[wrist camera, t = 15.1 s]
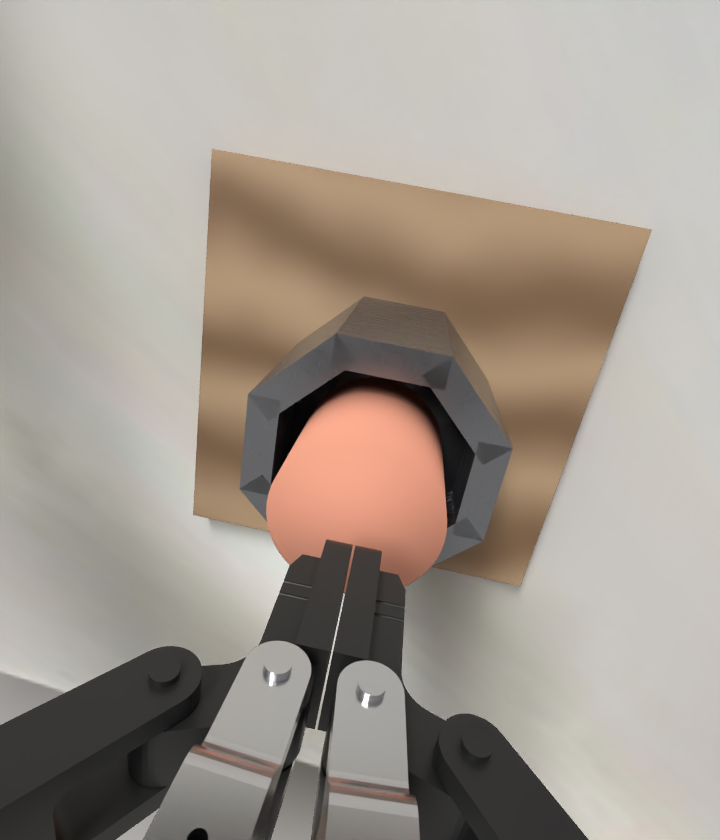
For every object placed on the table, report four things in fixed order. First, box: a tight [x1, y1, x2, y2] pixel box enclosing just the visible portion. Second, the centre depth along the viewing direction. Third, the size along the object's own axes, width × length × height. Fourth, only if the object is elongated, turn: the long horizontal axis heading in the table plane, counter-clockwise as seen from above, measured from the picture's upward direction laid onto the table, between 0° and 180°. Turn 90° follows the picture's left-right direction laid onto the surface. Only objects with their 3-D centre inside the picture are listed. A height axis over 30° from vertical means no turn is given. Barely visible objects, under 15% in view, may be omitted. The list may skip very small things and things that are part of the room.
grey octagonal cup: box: [239, 296, 513, 566], centre depth 23 cm, size 10×10×8 cm
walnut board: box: [193, 149, 652, 586], centre depth 27 cm, size 20×20×2 cm
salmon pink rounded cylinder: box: [266, 378, 447, 594], centre depth 19 cm, size 6×6×6 cm
